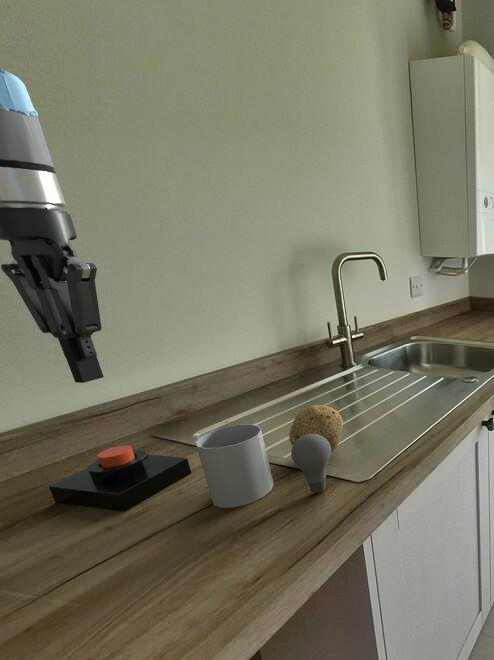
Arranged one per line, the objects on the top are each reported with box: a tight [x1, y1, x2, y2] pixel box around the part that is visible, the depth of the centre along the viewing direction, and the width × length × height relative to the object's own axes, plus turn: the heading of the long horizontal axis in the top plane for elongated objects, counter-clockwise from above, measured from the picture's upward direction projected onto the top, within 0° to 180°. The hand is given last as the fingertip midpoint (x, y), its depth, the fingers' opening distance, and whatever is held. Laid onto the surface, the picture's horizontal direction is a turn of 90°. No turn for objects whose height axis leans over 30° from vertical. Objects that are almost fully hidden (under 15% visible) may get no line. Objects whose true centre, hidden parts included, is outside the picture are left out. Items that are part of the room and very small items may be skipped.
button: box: [97, 445, 135, 468], centre depth 65 cm, size 4×4×2 cm
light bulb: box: [290, 434, 332, 494], centre depth 64 cm, size 6×6×10 cm
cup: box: [195, 423, 275, 509], centre depth 64 cm, size 8×8×10 cm
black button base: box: [48, 449, 192, 513], centre depth 66 cm, size 13×11×5 cm
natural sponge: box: [288, 404, 344, 454], centre depth 75 cm, size 9×9×10 cm
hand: (89, 379), depth 61 cm, fingers closed
